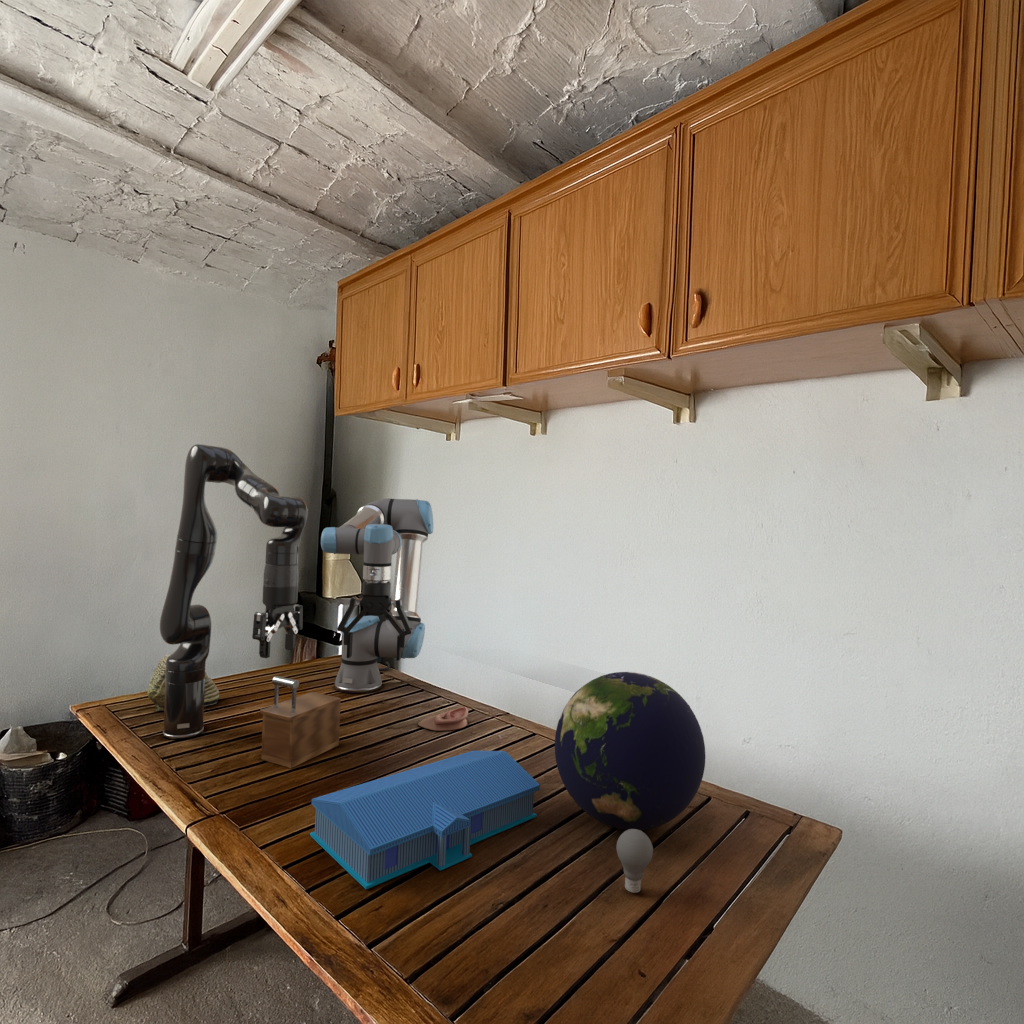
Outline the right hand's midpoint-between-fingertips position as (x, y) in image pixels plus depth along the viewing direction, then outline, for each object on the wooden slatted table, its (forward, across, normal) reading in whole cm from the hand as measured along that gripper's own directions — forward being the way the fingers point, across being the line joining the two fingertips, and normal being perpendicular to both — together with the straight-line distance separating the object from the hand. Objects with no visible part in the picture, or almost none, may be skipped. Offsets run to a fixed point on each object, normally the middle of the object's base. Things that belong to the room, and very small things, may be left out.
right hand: (374, 658), depth 173 cm
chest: (+19, -13, -18) cm, 29 cm away
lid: (+8, -13, -18) cm, 24 cm away
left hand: (-8, -16, -28) cm, 33 cm away
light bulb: (+19, +60, -68) cm, 92 cm away
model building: (+19, +24, -51) cm, 60 cm away
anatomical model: (+20, +19, +6) cm, 28 cm away
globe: (+19, +62, -44) cm, 79 cm away
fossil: (+20, -58, +10) cm, 62 cm away
